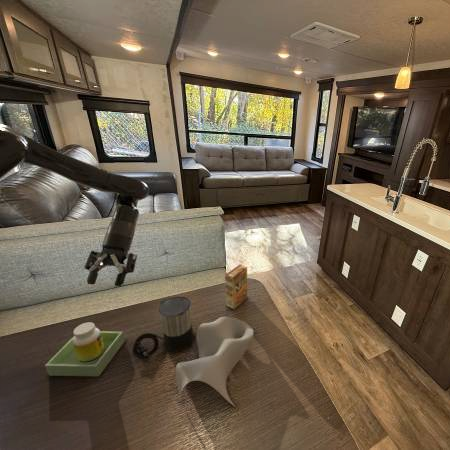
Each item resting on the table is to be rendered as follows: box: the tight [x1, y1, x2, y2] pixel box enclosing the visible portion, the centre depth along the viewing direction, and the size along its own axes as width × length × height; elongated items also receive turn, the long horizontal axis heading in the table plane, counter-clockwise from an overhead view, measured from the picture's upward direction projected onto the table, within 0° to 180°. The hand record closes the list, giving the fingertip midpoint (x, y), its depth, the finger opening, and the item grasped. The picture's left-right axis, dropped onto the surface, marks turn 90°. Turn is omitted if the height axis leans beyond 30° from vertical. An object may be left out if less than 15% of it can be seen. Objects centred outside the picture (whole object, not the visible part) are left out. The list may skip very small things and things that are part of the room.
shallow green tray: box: [44, 330, 126, 377], centre depth 74 cm, size 13×12×4 cm
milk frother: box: [132, 295, 195, 359], centre depth 78 cm, size 14×16×15 cm
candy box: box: [224, 264, 248, 310], centre depth 99 cm, size 9×4×15 cm, turn 154°
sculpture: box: [175, 316, 255, 407], centre depth 75 cm, size 25×19×10 cm
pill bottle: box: [72, 321, 105, 364], centre depth 72 cm, size 6×6×11 cm
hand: (104, 285), depth 77 cm, fingers open, 8 cm apart
